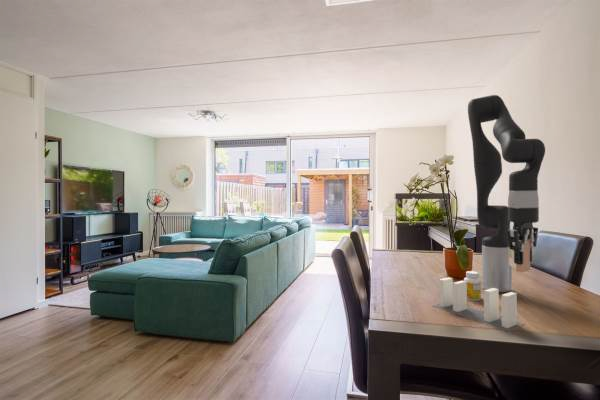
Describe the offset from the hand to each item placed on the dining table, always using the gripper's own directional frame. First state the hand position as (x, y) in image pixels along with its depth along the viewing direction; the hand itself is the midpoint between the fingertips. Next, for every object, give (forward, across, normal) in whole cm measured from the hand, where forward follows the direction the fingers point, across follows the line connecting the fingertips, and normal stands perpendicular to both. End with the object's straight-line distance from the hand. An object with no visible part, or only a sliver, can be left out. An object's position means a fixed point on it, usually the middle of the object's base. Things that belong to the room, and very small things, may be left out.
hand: (523, 262), depth 97 cm
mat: (+17, +9, -10) cm, 22 cm away
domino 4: (+17, +9, 0) cm, 19 cm away
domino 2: (+17, +8, -15) cm, 24 cm away
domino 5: (+2, 0, 0) cm, 2 cm away
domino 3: (+17, +9, -5) cm, 20 cm away
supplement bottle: (+18, -6, -19) cm, 27 cm away
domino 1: (+17, +8, -20) cm, 27 cm away
